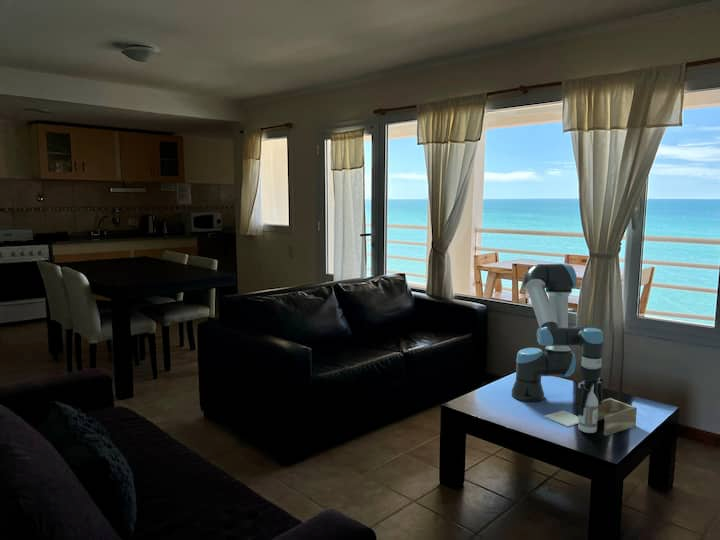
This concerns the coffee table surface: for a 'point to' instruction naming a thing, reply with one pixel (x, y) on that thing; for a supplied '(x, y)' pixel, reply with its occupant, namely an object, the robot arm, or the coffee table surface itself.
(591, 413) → the bath foam
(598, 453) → the coffee table surface
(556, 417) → the tile
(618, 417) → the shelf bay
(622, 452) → the coffee table surface
